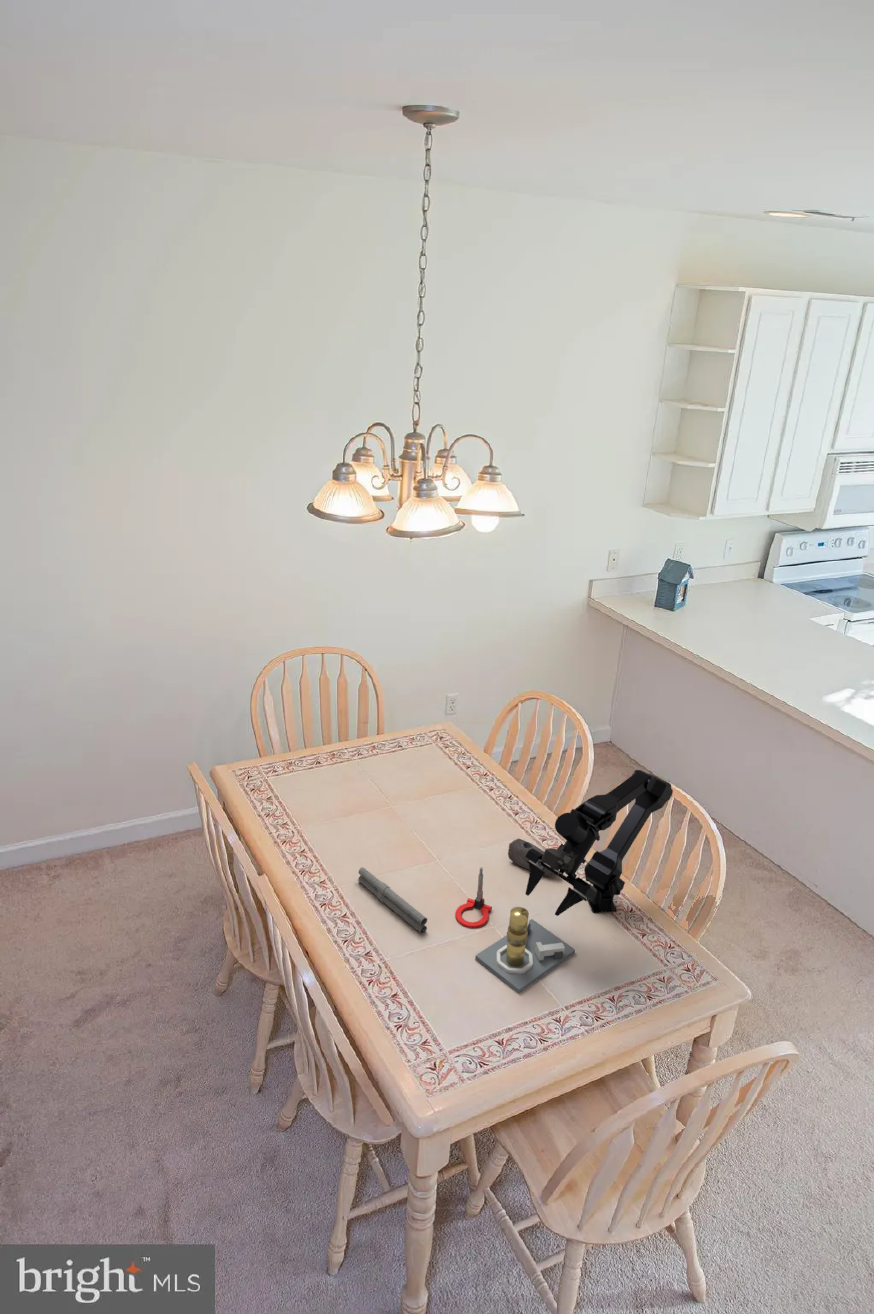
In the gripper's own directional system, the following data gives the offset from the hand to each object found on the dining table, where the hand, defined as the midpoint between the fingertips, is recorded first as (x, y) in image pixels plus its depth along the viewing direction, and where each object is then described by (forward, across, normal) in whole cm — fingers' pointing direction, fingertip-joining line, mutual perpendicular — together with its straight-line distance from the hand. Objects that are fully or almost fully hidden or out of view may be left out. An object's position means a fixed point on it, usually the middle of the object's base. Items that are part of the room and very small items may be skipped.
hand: (541, 905), depth 206 cm
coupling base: (+12, 0, +7) cm, 14 cm away
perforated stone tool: (-6, -21, +26) cm, 34 cm away
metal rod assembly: (+22, -34, -2) cm, 41 cm away
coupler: (+14, 0, +4) cm, 14 cm away
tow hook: (+12, -18, +7) cm, 23 cm away
